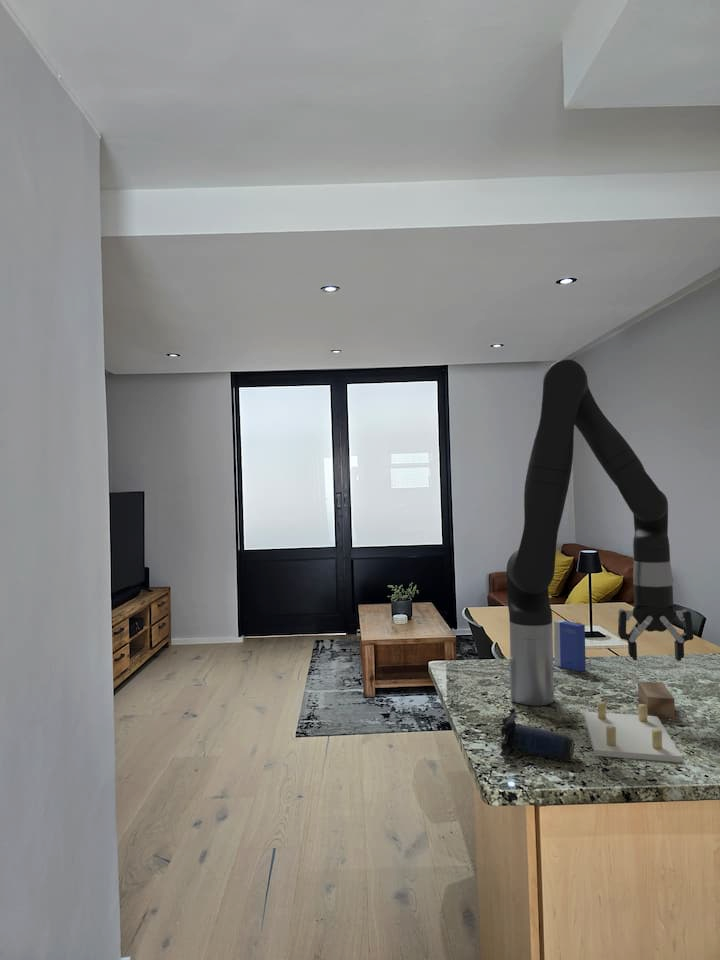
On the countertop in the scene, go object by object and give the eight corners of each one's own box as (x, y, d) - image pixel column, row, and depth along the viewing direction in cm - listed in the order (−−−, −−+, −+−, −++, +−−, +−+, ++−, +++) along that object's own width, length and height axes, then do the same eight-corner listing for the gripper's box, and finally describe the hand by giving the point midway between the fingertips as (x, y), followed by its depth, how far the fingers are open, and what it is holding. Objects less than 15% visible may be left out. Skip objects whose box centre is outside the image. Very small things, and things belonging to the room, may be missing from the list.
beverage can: (499, 764, 115) (570, 780, 110) (498, 724, 113) (570, 738, 108) (510, 737, 123) (577, 750, 118) (510, 699, 121) (577, 711, 116)
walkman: (585, 670, 167) (584, 623, 167) (578, 672, 166) (577, 624, 166) (561, 663, 174) (560, 618, 174) (554, 665, 172) (553, 619, 172)
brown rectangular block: (648, 719, 132) (647, 697, 132) (638, 702, 143) (637, 681, 143) (674, 721, 131) (674, 698, 131) (663, 703, 142) (662, 682, 142)
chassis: (594, 755, 114) (594, 732, 114) (583, 716, 134) (583, 696, 134) (681, 762, 111) (681, 738, 111) (657, 721, 130) (657, 701, 130)
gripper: (684, 579, 140) (688, 655, 139) (614, 580, 143) (617, 654, 143) (694, 585, 132) (697, 665, 132) (619, 585, 135) (622, 663, 135)
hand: (656, 659), depth 137 cm, fingers open, 8 cm apart
